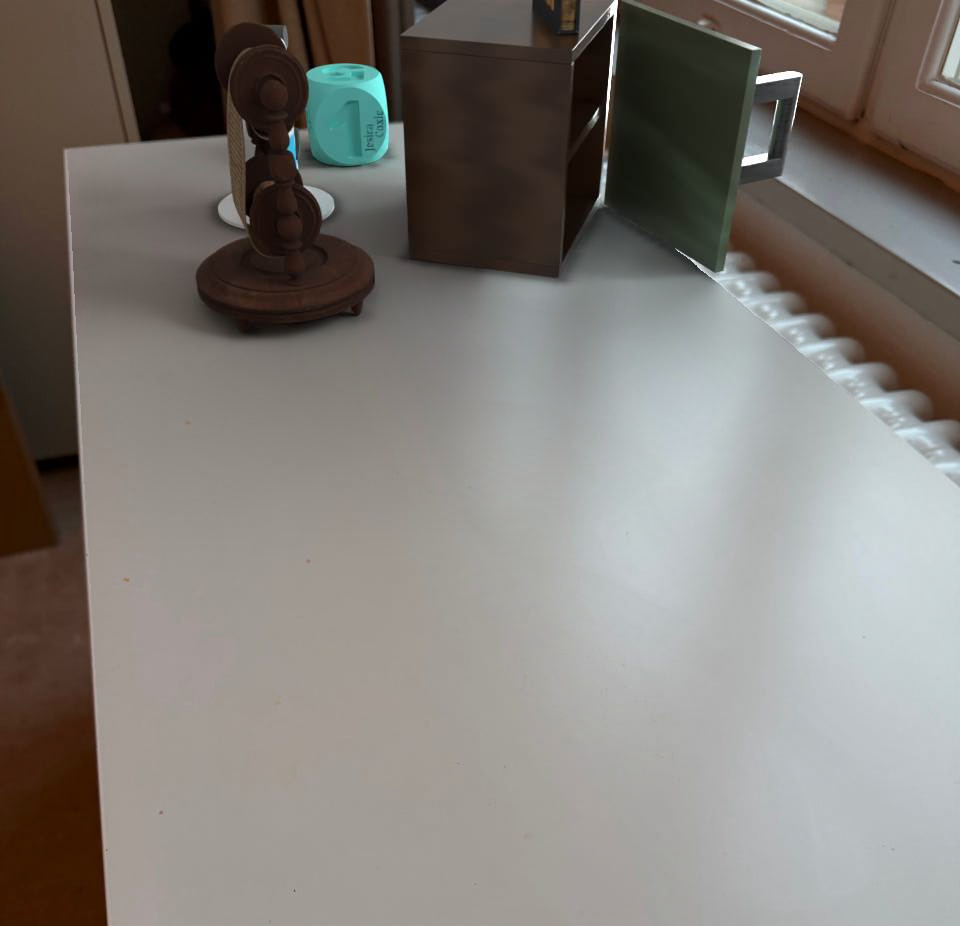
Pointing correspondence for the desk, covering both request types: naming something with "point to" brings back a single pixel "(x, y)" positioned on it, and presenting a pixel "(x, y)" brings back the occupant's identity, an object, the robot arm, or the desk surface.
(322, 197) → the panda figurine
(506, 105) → the cupboard
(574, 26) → the ammunition clip
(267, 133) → the dark brown piece
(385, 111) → the decorative dice
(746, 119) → the cupboard door
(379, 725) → the desk surface
